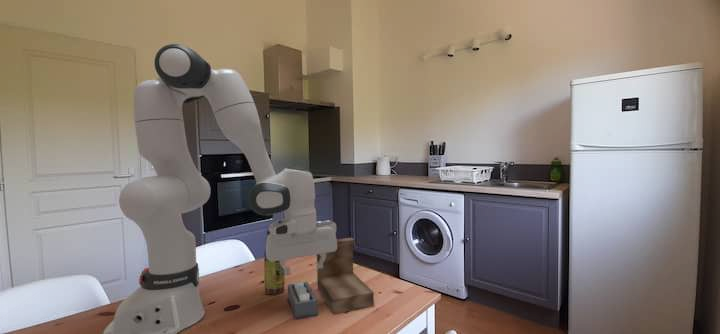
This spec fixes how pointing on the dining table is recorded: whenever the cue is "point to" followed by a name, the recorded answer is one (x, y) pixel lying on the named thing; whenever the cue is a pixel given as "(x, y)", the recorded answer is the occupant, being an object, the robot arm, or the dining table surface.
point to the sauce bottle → (273, 276)
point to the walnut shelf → (342, 280)
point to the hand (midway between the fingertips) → (303, 271)
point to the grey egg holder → (302, 300)
